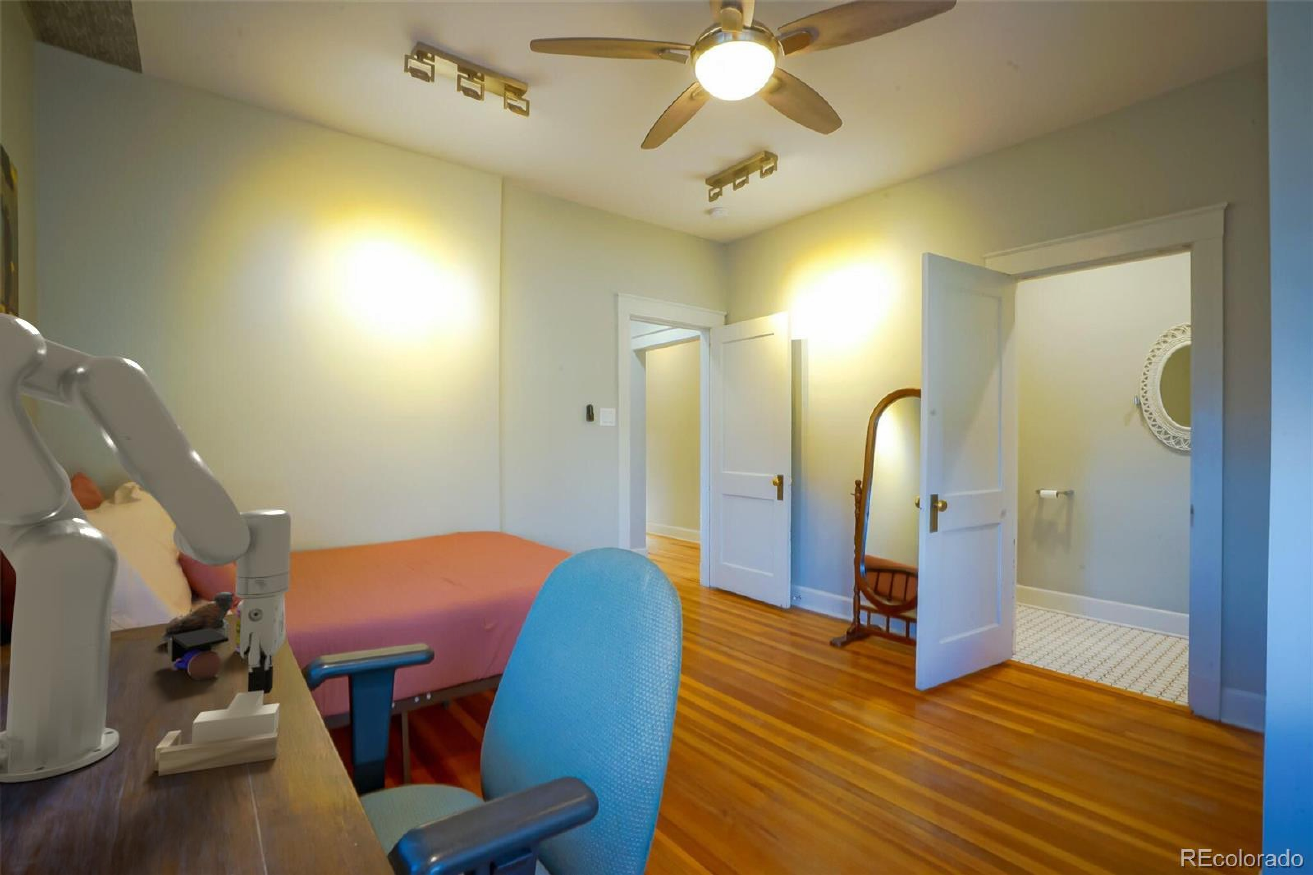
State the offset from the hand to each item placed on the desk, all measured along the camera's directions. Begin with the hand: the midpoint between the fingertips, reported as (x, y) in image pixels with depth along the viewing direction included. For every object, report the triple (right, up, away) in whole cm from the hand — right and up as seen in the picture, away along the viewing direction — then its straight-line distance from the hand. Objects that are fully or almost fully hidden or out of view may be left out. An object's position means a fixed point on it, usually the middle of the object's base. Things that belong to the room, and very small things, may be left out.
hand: (260, 692), depth 98 cm
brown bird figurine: (-33, -1, +28) cm, 43 cm away
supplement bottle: (-18, -2, +24) cm, 30 cm away
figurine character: (-20, -1, +12) cm, 24 cm away
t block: (+3, -2, -9) cm, 9 cm away
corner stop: (+6, -1, -17) cm, 18 cm away
